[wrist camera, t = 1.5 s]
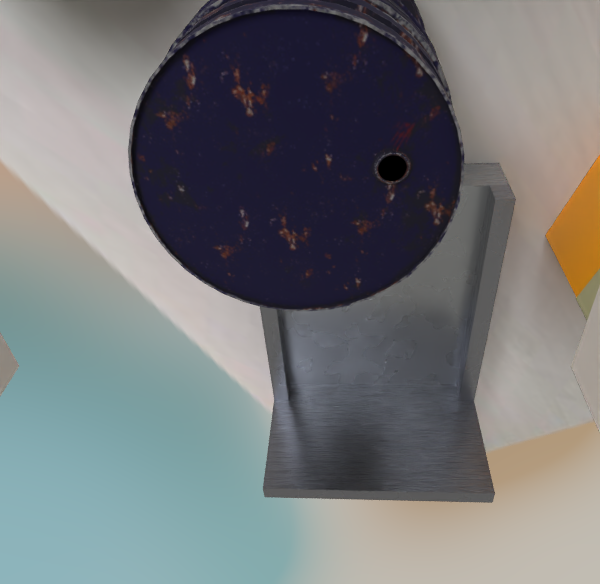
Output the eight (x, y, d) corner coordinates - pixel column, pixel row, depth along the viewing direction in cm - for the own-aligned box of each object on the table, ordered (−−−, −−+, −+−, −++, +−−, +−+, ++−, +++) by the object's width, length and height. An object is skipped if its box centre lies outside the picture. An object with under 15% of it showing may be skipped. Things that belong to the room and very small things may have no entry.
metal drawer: (254, 171, 32) (221, 289, 24) (498, 163, 31) (556, 285, 22) (280, 367, 43) (264, 496, 34) (462, 367, 42) (492, 502, 33)
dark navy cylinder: (251, 151, 31) (196, 331, 20) (187, -42, 25) (56, 57, 14) (427, 112, 29) (479, 290, 18) (402, -107, 23) (457, -54, 12)
